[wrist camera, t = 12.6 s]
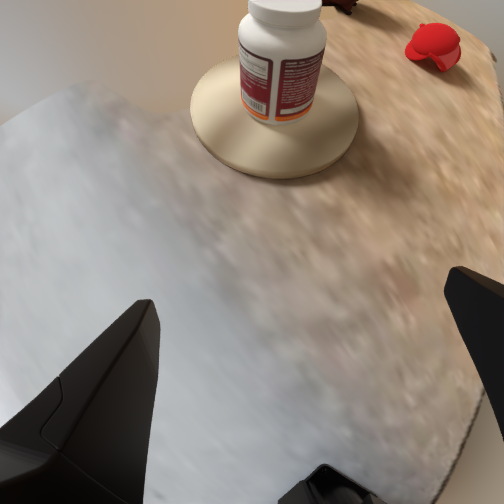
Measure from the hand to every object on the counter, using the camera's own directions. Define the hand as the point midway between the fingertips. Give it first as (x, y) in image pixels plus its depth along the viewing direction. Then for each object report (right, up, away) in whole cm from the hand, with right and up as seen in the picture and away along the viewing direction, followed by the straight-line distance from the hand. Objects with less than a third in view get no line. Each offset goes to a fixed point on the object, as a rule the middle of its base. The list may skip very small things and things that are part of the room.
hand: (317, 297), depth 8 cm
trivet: (0, +14, +18) cm, 23 cm away
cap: (+21, +26, +22) cm, 40 cm away
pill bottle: (0, +14, +17) cm, 22 cm away
